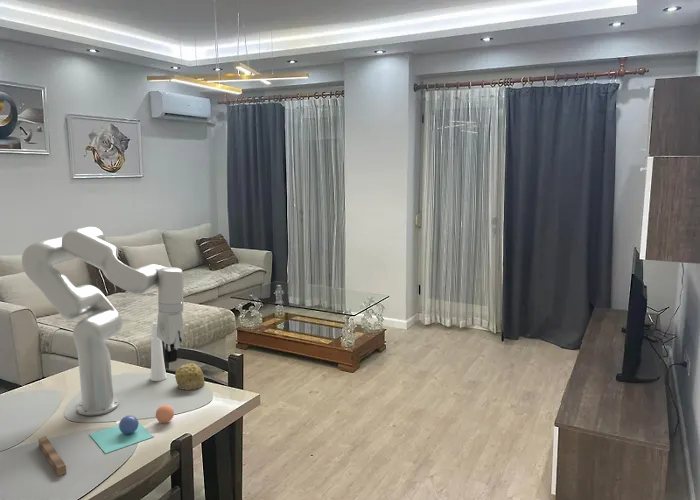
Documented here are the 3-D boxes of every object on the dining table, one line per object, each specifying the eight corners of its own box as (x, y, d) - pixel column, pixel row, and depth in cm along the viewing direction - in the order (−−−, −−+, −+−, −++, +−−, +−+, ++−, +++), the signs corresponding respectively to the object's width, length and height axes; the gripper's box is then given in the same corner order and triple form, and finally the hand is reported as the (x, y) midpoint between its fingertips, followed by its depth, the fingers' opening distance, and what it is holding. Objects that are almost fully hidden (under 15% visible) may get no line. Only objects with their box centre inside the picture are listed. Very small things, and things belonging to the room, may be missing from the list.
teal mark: (89, 435, 163) (89, 434, 163) (135, 420, 173) (135, 419, 172) (105, 453, 153) (105, 453, 153) (153, 437, 162) (153, 436, 162)
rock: (190, 401, 194) (203, 379, 192) (165, 384, 195) (178, 362, 193) (202, 392, 203) (214, 370, 202) (177, 375, 204) (190, 354, 202)
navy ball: (138, 421, 169) (122, 434, 166) (128, 409, 166) (113, 421, 163) (144, 428, 164) (128, 440, 162) (135, 415, 162) (119, 428, 159)
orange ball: (167, 400, 174) (169, 415, 175) (151, 406, 170) (153, 422, 172) (176, 405, 170) (177, 421, 172) (160, 412, 167) (161, 428, 168)
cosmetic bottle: (153, 374, 208) (150, 320, 204) (169, 375, 208) (166, 320, 204) (147, 381, 202) (143, 325, 198) (163, 381, 202) (160, 325, 198)
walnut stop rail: (39, 446, 157) (38, 438, 156) (46, 443, 158) (45, 436, 158) (58, 476, 142) (57, 467, 142) (66, 473, 144) (65, 465, 143)
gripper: (149, 302, 173) (150, 356, 177) (169, 314, 162) (169, 371, 166) (172, 299, 178) (172, 351, 182) (192, 310, 167) (192, 366, 171)
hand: (170, 361), depth 174 cm, fingers closed
